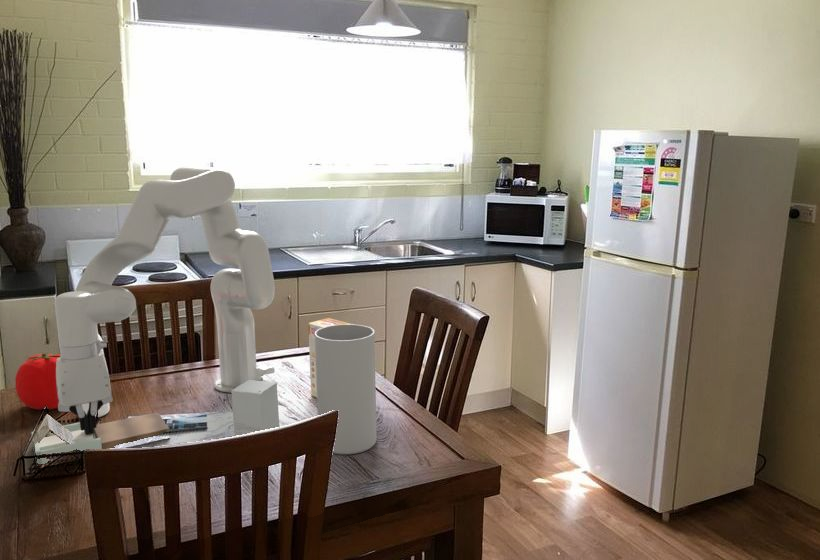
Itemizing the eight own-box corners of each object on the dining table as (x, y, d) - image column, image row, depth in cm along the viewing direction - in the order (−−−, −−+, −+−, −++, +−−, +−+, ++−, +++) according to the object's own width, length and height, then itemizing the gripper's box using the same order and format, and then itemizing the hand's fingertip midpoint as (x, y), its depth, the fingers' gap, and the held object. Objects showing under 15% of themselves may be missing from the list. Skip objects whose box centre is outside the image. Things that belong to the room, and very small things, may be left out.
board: (158, 421, 164) (157, 412, 163) (170, 438, 155) (169, 428, 154) (93, 435, 156) (92, 425, 156) (102, 454, 147) (101, 443, 147)
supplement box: (281, 435, 156) (278, 382, 153) (263, 449, 149) (260, 393, 146) (252, 431, 158) (249, 378, 155) (233, 445, 151) (230, 389, 148)
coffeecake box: (370, 402, 174) (368, 327, 170) (349, 411, 169) (347, 333, 165) (331, 388, 184) (328, 317, 180) (309, 395, 179) (307, 322, 175)
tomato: (37, 421, 164) (30, 366, 162) (5, 409, 172) (-2, 356, 169) (97, 400, 177) (91, 348, 175) (65, 390, 185) (59, 340, 182)
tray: (93, 434, 157) (92, 419, 156) (102, 454, 147) (100, 438, 146) (33, 447, 151) (31, 431, 150) (38, 469, 141) (36, 452, 140)
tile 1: (65, 444, 151) (63, 433, 150) (67, 453, 147) (66, 441, 146) (39, 449, 148) (37, 438, 148) (40, 458, 144) (39, 447, 143)
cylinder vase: (341, 426, 160) (338, 321, 155) (387, 438, 154) (385, 329, 149) (307, 447, 149) (302, 335, 144) (355, 461, 143) (352, 344, 138)
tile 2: (91, 438, 153) (90, 427, 153) (94, 446, 149) (93, 436, 149) (66, 443, 151) (64, 433, 150) (68, 452, 147) (67, 441, 146)
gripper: (114, 340, 154) (122, 418, 157) (38, 351, 146) (48, 433, 150) (121, 349, 147) (129, 430, 151) (41, 361, 140) (52, 446, 143)
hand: (88, 431), depth 150 cm, fingers closed
